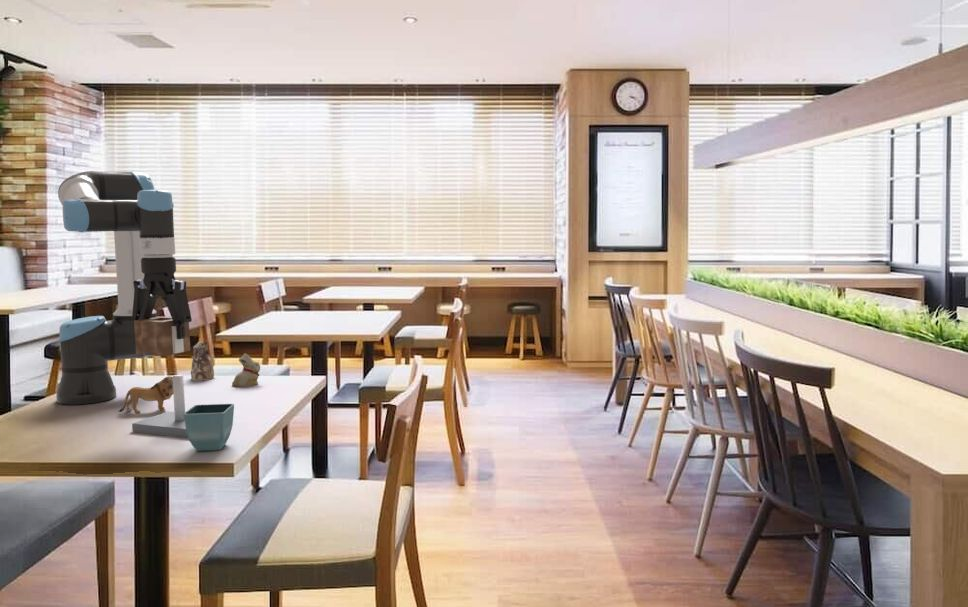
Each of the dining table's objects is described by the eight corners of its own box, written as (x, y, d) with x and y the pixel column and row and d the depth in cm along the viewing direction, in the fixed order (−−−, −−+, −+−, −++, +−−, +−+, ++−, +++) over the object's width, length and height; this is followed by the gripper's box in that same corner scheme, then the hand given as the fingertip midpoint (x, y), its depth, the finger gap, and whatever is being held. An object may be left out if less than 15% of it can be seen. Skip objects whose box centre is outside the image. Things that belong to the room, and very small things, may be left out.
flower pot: (196, 442, 167) (194, 404, 167) (236, 441, 168) (234, 403, 167) (184, 454, 159) (182, 413, 158) (226, 453, 159) (224, 412, 159)
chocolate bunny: (256, 386, 226) (254, 354, 225) (230, 386, 226) (229, 354, 225) (261, 382, 232) (260, 351, 231) (237, 382, 232) (235, 351, 231)
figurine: (185, 379, 237) (184, 342, 236) (202, 375, 244) (200, 339, 243) (202, 381, 235) (200, 344, 233) (218, 377, 241) (217, 340, 240)
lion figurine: (178, 406, 202) (177, 374, 201) (179, 410, 197) (177, 377, 196) (119, 411, 196) (117, 378, 195) (118, 416, 191) (116, 382, 191)
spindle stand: (132, 431, 177) (129, 378, 176) (168, 419, 188) (166, 369, 187) (193, 438, 171) (190, 383, 170) (227, 424, 182) (225, 373, 181)
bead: (136, 354, 173) (134, 320, 172) (163, 348, 181) (161, 316, 180) (164, 356, 170) (162, 322, 169) (190, 350, 178) (188, 317, 177)
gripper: (110, 256, 173) (116, 351, 176) (182, 257, 166) (187, 356, 168) (135, 255, 180) (141, 346, 183) (205, 256, 173) (210, 351, 175)
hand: (163, 351), depth 175 cm, fingers closed on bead, 8 cm apart
